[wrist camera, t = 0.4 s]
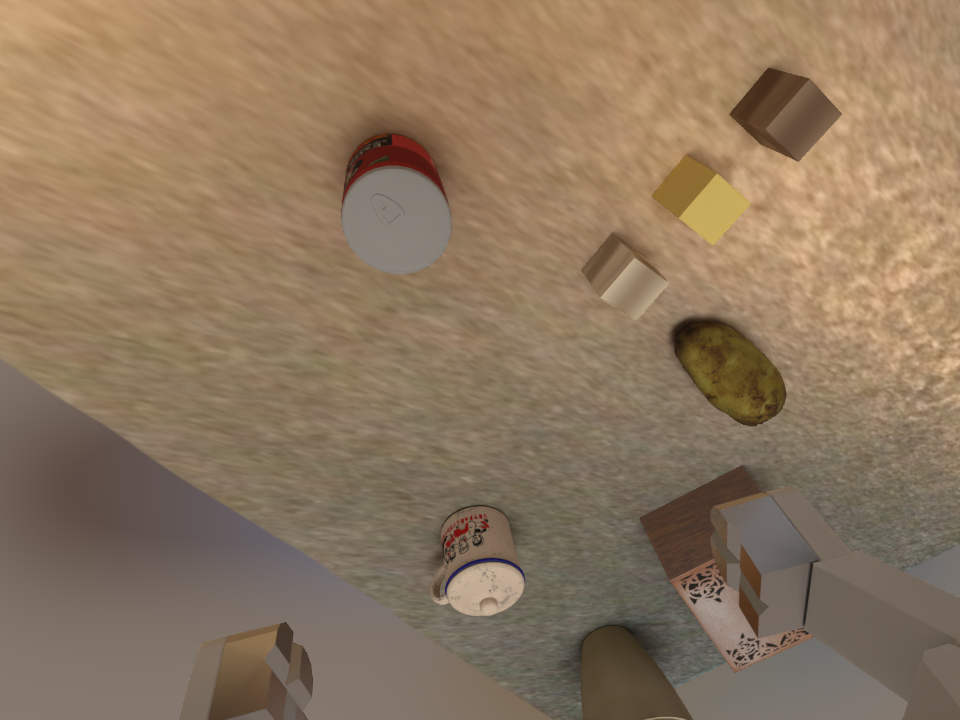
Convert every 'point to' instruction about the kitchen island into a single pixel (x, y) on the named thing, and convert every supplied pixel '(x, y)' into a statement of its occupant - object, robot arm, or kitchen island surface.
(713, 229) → the mustard block
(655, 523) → the tissue box cover
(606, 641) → the plant pot
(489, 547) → the teacup with lid
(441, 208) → the canned food
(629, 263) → the birch block
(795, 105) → the walnut block
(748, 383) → the potato
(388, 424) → the kitchen island surface
